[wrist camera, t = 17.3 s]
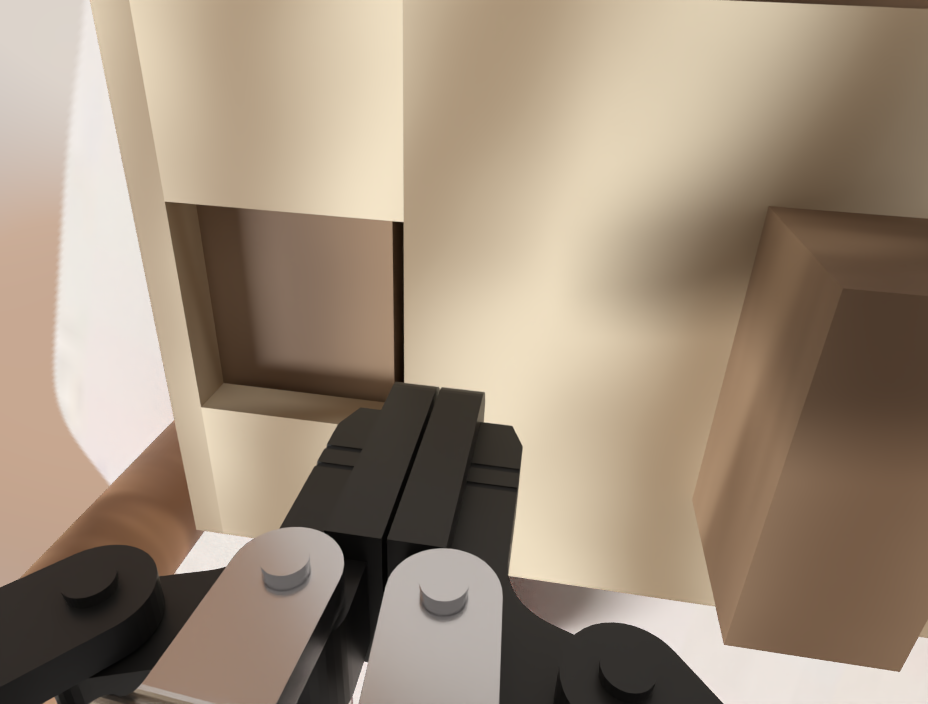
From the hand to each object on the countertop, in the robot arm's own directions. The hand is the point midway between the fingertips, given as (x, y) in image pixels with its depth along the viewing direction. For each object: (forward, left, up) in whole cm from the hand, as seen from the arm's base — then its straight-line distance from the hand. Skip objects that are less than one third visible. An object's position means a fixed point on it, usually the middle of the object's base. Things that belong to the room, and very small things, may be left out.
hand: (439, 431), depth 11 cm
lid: (-3, 0, -5) cm, 6 cm away
